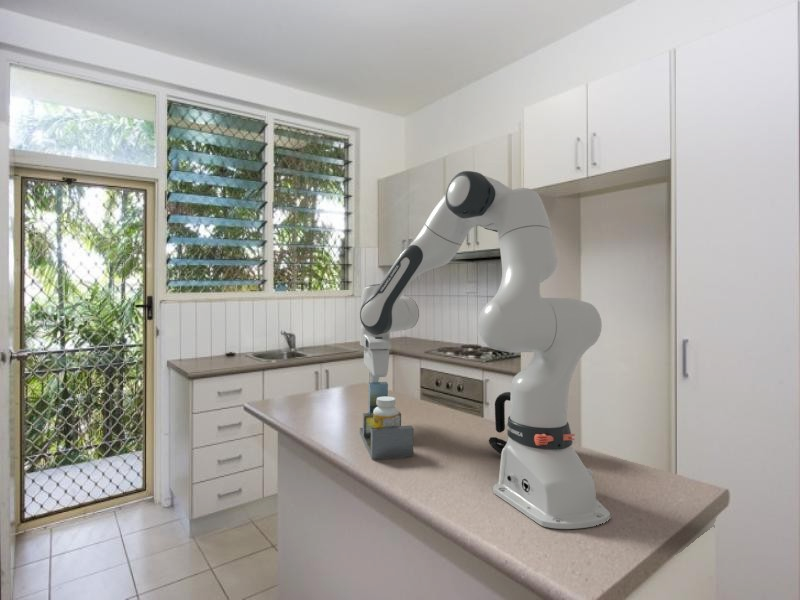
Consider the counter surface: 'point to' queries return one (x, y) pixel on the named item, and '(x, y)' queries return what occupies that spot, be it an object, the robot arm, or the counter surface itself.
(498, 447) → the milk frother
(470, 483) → the counter surface
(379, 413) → the supplement bottle
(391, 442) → the vise base
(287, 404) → the counter surface
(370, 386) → the sliding jaw
